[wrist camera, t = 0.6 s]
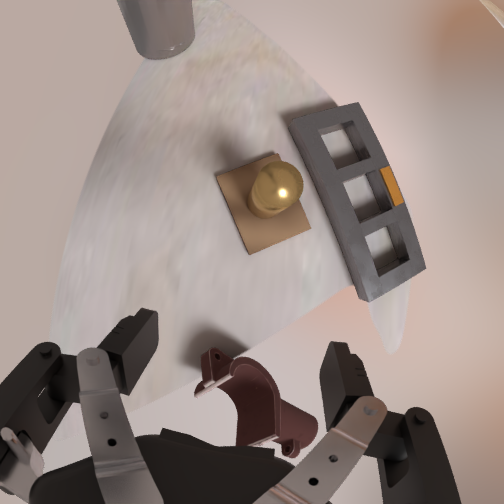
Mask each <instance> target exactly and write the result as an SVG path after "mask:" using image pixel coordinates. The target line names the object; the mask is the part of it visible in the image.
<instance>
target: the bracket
mask: <svg viewBox="0 0 504 504" xmlns="http://www.w3.org/2000/svg"><path fill="white" fill-rule="evenodd" d="M201 368H202V379H203V381H201V382H200V383H199V384H198V385H197V387H196V389H195V392H194V396H195V397H196V398H198V397H200V396H202V395H204V394H205V393H207V392H209V391H210V390H212V389H214V388H215V387H217V388H220V389H221V390H223V391H224V392H226V393H227V394H228V395H229V397H230V398H231V399H232V401H233V402H234V404H235V406H236V409H237V413H238V421H237V436H236V446H254V447H256V446H261V445H263V444H264V443H267V442H269V441H274V442H276V443H279V444H281V446H282V447H281V448H282V454H283V455H284V456H286V457H289V458H296V457H297V456H298V455H299V453H300V449H303V448H305V447H307V446H308V445H309V444H311V443H312V441H313V440H314V439H315V437H316V435H317V432H318V422H317V420H316V418H315V417H314V416H312V415H310V414H308V413H306V412H304V411H303V410H301V409H299V408H297V407H295V406H293V405H291V404H290V403H288V402H286V401H284V400H282V399H281V398H280V393H279V390H278V387H277V385H276V383H275V381H274V379H273V378H272V376H271V375H270V374H269V372H268V371H267V370H266V369H265V368H264V367H263V366H262V365H261V364H260V363H258V362H257V361H255V360H253V359H251V358H248V357H238V358H236V359H235V360H234V359H232V358H231V357H229V356H228V355H226V354H225V353H223V352H222V351H220V350H219V349H217V348H211V349H209V350H208V351H207V352H205V353H204V354H203V355H202V356H201Z"/></svg>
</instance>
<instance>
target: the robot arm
mask: <svg viewBox="0 0 504 504" xmlns="http://www.w3.org/2000/svg"><path fill="white" fill-rule="evenodd" d="M117 2H118V5H119V7H120V10H121V12H122V15H123V17H124V19H125V22H126V25H127V27H128V29H129V32H130V34H131V37H132V39H133V42H134V44H135V47H136V49H137V51H138V53H139V54H140V55H142V56H143V57H145V58H148V59H165V58H169V57H172V56H175V55H177V54H179V53H181V52H183V51H184V50H185V49H187V48H188V47H189V46H190V45H191V43H192V42H193V40H194V37H195V30H194V20H193V9H192V0H117ZM158 341H159V334H158V313H157V311H153V310H149V309H145V308H141V309H140V310H139V311H138V312H137V313H136V315H135V316H128V317H126V318H124V319H122V320H121V321H120V322H119V323H118V324H117V325H116V327H114V328H113V330H112V332H110V333H109V334H108V335H107V336H106V338H105V339H104V340H103V341H102V342H101V343H100V344H99V346H98V347H97V348H87V349H84V350H82V351H81V352H80V353H79V354H78V355H77V356H74V355H66V354H61V350H60V347H59V346H58V345H57V344H55V343H52V342H44V343H40V344H38V345H37V346H35V347H34V348H33V349H32V350H31V351H30V352H29V354H28V355H26V357H25V358H24V359H23V360H22V361H21V362H20V363H19V364H18V365H17V366H16V367H15V368H14V370H13V371H12V372H11V373H10V374H9V375H8V376H7V377H6V378H5V380H4V381H3V382H2V383H1V384H0V489H1V490H2V491H4V492H5V493H7V494H10V495H16V496H18V497H19V498H21V499H22V500H24V501H25V502H27V503H28V504H332V503H331V502H330V501H329V499H330V498H331V497H332V496H333V494H334V493H335V492H336V490H337V489H338V488H339V487H340V485H341V484H342V483H343V482H344V480H345V479H346V478H347V476H348V475H349V473H350V472H351V471H352V469H353V468H354V467H355V465H356V464H357V462H358V461H359V459H360V458H361V456H362V455H366V456H370V457H375V458H377V462H378V469H379V475H380V482H381V489H382V497H383V504H461V501H460V497H459V493H458V490H457V486H456V483H455V479H454V476H453V473H452V470H451V466H450V463H449V460H448V458H447V454H446V452H445V449H444V446H443V443H442V440H441V438H440V435H439V432H438V430H437V427H436V424H435V422H434V419H433V417H432V415H431V414H430V413H429V412H428V411H427V410H425V409H423V408H419V407H413V408H410V409H408V411H407V412H406V413H405V415H403V414H399V413H395V412H391V411H388V410H387V407H386V405H385V404H384V403H383V402H382V401H381V400H380V399H378V398H376V397H374V394H373V392H372V388H371V385H370V382H369V379H368V377H367V374H366V371H365V368H364V365H363V362H362V360H361V359H360V358H359V357H358V356H357V355H356V354H350V351H349V347H348V344H347V343H344V342H333V341H331V342H330V343H329V346H328V349H327V351H326V354H325V357H324V360H323V363H322V366H321V369H320V386H321V392H322V399H323V407H324V414H325V421H326V429H327V432H328V433H327V434H326V435H325V436H324V438H323V439H322V440H321V441H320V442H319V443H318V444H317V445H316V446H315V447H314V448H313V450H312V451H311V452H310V453H309V454H308V455H307V456H306V457H305V458H304V459H303V460H302V461H301V462H300V463H299V464H298V465H297V466H296V467H295V466H294V465H292V464H291V463H289V462H287V461H285V460H283V459H281V458H278V457H275V456H274V452H275V449H271V448H262V447H254V446H223V447H218V446H214V445H211V444H209V443H207V442H204V441H202V440H200V439H197V438H195V437H193V436H191V435H188V434H184V433H180V432H176V431H172V430H169V429H165V428H162V431H161V433H160V435H143V436H138V437H134V435H133V432H132V429H131V426H130V424H129V421H128V418H127V415H126V412H125V409H124V406H123V403H122V400H121V397H120V393H122V394H125V395H128V396H129V395H130V393H131V391H132V390H133V388H134V386H135V385H136V383H137V381H138V380H139V378H140V376H141V374H142V373H143V371H144V369H145V368H146V366H147V364H148V363H149V361H150V359H151V358H152V356H153V354H154V353H155V351H156V349H157V346H158ZM44 388H45V389H44ZM43 389H44V390H43ZM42 390H43V391H42ZM41 392H42V393H41ZM40 393H41V394H40ZM39 394H40V395H39ZM38 396H39V397H38ZM73 402H74V403H80V404H81V410H82V415H83V420H84V425H85V430H86V434H87V439H88V443H89V447H90V451H91V454H92V456H90V457H88V458H85V459H83V460H80V461H77V462H75V463H72V464H70V465H67V466H64V467H61V468H58V469H55V470H53V471H50V472H47V473H45V474H43V468H44V460H43V457H42V455H41V454H42V453H43V451H44V449H45V448H46V446H47V444H48V442H49V441H50V439H51V437H52V436H53V434H54V432H55V431H56V429H57V427H58V426H59V424H60V422H61V421H62V419H63V417H64V416H65V414H66V413H67V411H68V409H69V408H70V406H71V405H72V403H73Z"/></svg>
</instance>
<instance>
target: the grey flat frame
mask: <svg viewBox="0 0 504 504" xmlns="http://www.w3.org/2000/svg"><path fill="white" fill-rule="evenodd" d="M288 129H289V131H290V133H291V135H292V137H293V139H294V142H295V144H296V146H297V148H298V150H299V152H300V154H301V156H302V158H303V160H304V163H305V165H306V167H307V169H308V171H309V173H310V176H311V178H312V180H313V182H314V185H315V187H316V189H317V191H318V194H319V196H320V198H321V201H322V203H323V205H324V208H325V210H326V212H327V215H328V217H329V220H330V222H331V225H332V227H333V230H334V232H335V235H336V237H337V240H338V242H339V245H340V247H341V250H342V253H343V255H344V258H345V261H346V263H347V266H348V269H349V272H350V274H351V277H352V280H353V283H354V286H355V288H356V291H357V294H358V297H359V299H362V300H364V301H367V302H371V301H373V300H374V299H376V298H378V297H380V296H382V295H383V294H385V293H387V292H388V291H390V290H392V289H394V288H395V287H397V286H399V285H400V284H402V283H404V282H405V281H407V280H409V279H410V278H412V277H413V276H415V275H417V274H418V273H420V272H421V271H423V270H425V269H426V266H425V262H424V258H423V255H422V252H421V248H420V245H419V242H418V239H417V236H416V232H415V229H414V226H413V223H412V221H411V218H410V215H409V212H408V209H407V207H406V204H405V201H404V199H403V196H402V193H401V191H400V188H399V186H398V184H397V181H396V179H395V176H394V174H393V172H392V169H391V167H390V165H389V162H388V160H387V158H386V156H385V154H384V152H383V149H382V147H381V145H380V143H379V141H378V139H377V137H376V135H375V133H374V131H373V129H372V127H371V125H370V123H369V121H368V119H367V117H366V115H365V113H364V112H363V110H362V108H361V106H360V104H359V103H358V102H357V103H352V104H348V105H344V106H339V107H335V108H331V109H327V110H324V111H320V112H316V113H312V114H309V115H305V116H302V117H298V118H295V119H293V120H292V122H291V124H290V126H289V128H288ZM341 129H345V131H346V133H347V135H348V137H349V139H350V141H351V143H352V145H353V147H354V149H355V151H356V153H357V156H358V158H359V160H360V162H357V163H354V164H351V165H349V166H346V167H343V168H340V169H338V170H337V169H336V167H335V165H334V163H333V160H332V158H331V156H330V154H329V152H328V150H327V148H326V146H325V144H324V142H323V140H322V138H321V135H324V134H327V133H331V132H334V131H337V130H341ZM363 175H367V178H368V180H369V182H370V185H371V187H372V190H373V192H374V194H375V197H376V199H377V202H378V204H379V207H380V209H381V212H379V213H377V214H375V215H372V216H370V217H368V218H366V219H364V220H361V221H358V219H357V216H356V214H355V211H354V209H353V206H352V204H351V201H350V199H349V197H348V194H347V192H346V189H345V187H344V185H343V183H345V182H347V181H350V180H353V179H355V178H358V177H361V176H363ZM385 226H387V228H388V231H389V234H390V237H391V240H392V242H393V245H394V248H395V251H396V254H397V258H398V259H397V260H395V261H393V262H392V263H390V264H388V265H386V266H384V267H382V268H381V269H379V270H377V271H376V268H375V265H374V262H373V259H372V256H371V253H370V251H369V248H368V245H367V242H366V240H365V236H367V235H369V234H371V233H373V232H375V231H377V230H379V229H381V228H383V227H385Z"/></svg>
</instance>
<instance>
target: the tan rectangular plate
mask: <svg viewBox="0 0 504 504" xmlns="http://www.w3.org/2000/svg"><path fill="white" fill-rule="evenodd" d="M274 161H282V160H281V158H280V156H279V154H278V153H277V154H274V155H271V156H269V157H266V158H263V159H260V160H258V161H255V162H252V163H250V164H247V165H244V166H242V167H239V168H237V169H234V170H232V171H229V172H226V173H224V174H221V175H219V176H217V180H218V183H219V185H220V187H221V190H222V192H223V194H224V197H225V199H226V202H227V204H228V206H229V209H230V211H231V213H232V216H233V218H234V220H235V223H236V225H237V227H238V230H239V232H240V234H241V237H242V239H243V241H244V244H245V246H246V249H247V251H248V253H249V255H251V254H253V253H256V252H258V251H260V250H263V249H265V248H267V247H270V246H272V245H274V244H277V243H279V242H281V241H284V240H286V239H288V238H291V237H293V236H295V235H297V234H300V233H302V232H304V231H307V230H309V229H311V227H310V224H309V222H308V219H307V217H306V215H305V212H304V210H303V208H302V205H301V203H300V201H299V199H298V200H297V201H296V202H295V203H294V204H292V205H291V206H289V207H287V208H286V209H284V210H283V211H281V212H280V213H278V214H277V215H275V216H274V217H272V218H269V219H260V218H258V217H256V216H254V215H253V214H252V213H251V212H250V210H249V208H248V203H247V201H248V196H249V194H250V191H251V189H252V187H253V185H254V182H255V180H256V178H257V176H258V173H259V172H260V170H261V169H262V168H263V167H264V166H265V165H266V164H268V163H270V162H274Z"/></svg>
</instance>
